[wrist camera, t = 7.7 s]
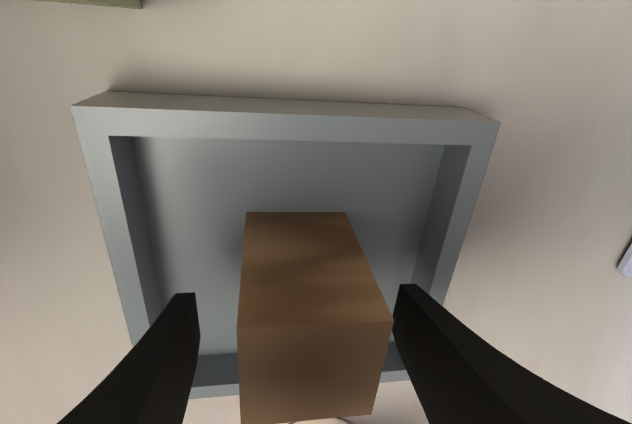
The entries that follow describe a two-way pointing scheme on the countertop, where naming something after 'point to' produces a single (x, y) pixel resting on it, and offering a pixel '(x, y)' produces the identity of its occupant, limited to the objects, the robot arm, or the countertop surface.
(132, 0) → the olive block
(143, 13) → the countertop surface
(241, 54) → the countertop surface
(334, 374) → the walnut block
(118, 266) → the grey tray
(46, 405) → the countertop surface
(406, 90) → the countertop surface
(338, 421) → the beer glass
